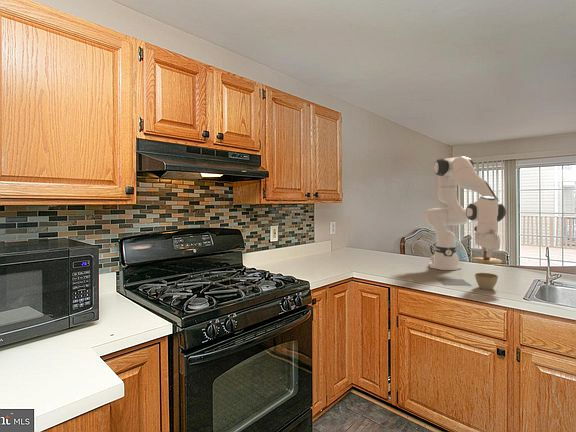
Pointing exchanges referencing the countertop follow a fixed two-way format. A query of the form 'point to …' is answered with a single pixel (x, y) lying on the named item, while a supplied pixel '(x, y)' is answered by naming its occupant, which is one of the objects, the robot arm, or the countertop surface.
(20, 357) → the countertop surface
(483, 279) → the olive bowl
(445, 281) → the mat
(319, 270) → the countertop surface
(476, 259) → the lid
